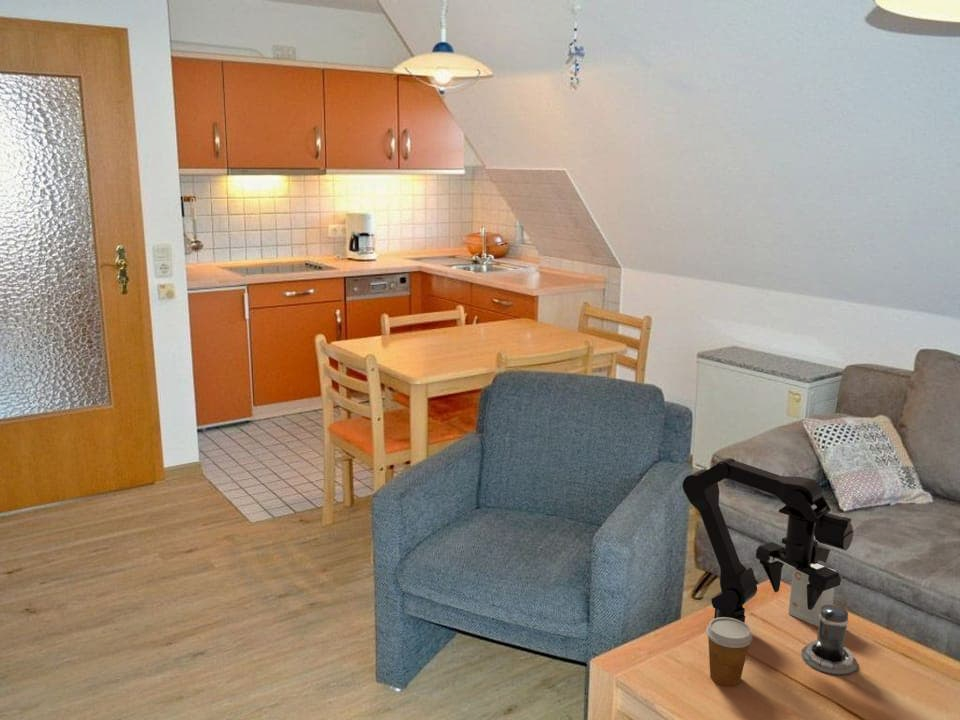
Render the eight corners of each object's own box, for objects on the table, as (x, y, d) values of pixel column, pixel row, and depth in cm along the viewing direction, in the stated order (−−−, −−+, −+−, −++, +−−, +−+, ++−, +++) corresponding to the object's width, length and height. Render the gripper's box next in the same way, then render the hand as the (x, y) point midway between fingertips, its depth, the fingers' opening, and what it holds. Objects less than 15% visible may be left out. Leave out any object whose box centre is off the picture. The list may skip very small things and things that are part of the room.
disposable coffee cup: (748, 670, 184) (753, 620, 182) (747, 695, 176) (752, 643, 173) (704, 661, 187) (708, 612, 185) (700, 685, 179) (704, 634, 176)
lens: (809, 654, 190) (814, 607, 187) (825, 647, 193) (831, 601, 190) (831, 667, 185) (837, 619, 182) (848, 660, 188) (854, 613, 185)
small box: (831, 619, 206) (837, 570, 204) (817, 627, 203) (823, 578, 200) (801, 606, 213) (806, 558, 210) (787, 614, 209) (792, 565, 206)
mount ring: (790, 654, 191) (791, 646, 190) (823, 640, 197) (824, 633, 196) (834, 681, 181) (835, 672, 181) (868, 665, 187) (869, 657, 187)
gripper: (860, 544, 182) (852, 609, 185) (789, 514, 197) (783, 575, 201) (827, 555, 176) (819, 622, 180) (756, 523, 192) (750, 586, 195)
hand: (793, 600), depth 189 cm, fingers open, 9 cm apart
